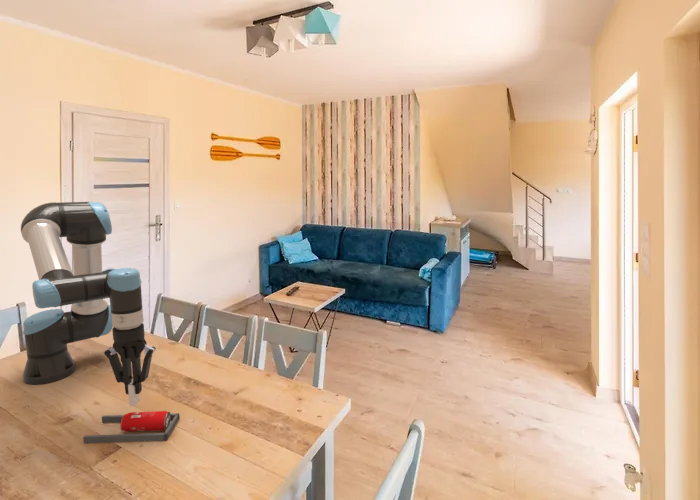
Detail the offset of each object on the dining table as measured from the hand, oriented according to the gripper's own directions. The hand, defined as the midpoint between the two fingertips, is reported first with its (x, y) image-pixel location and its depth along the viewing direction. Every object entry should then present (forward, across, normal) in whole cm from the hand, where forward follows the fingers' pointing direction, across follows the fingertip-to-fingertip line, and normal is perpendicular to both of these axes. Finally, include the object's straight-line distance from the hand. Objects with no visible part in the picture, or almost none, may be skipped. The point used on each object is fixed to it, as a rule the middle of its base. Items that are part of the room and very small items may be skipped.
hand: (134, 403), depth 109 cm
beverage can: (+6, -4, 0) cm, 7 cm away
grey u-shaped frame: (+8, -1, 0) cm, 8 cm away
